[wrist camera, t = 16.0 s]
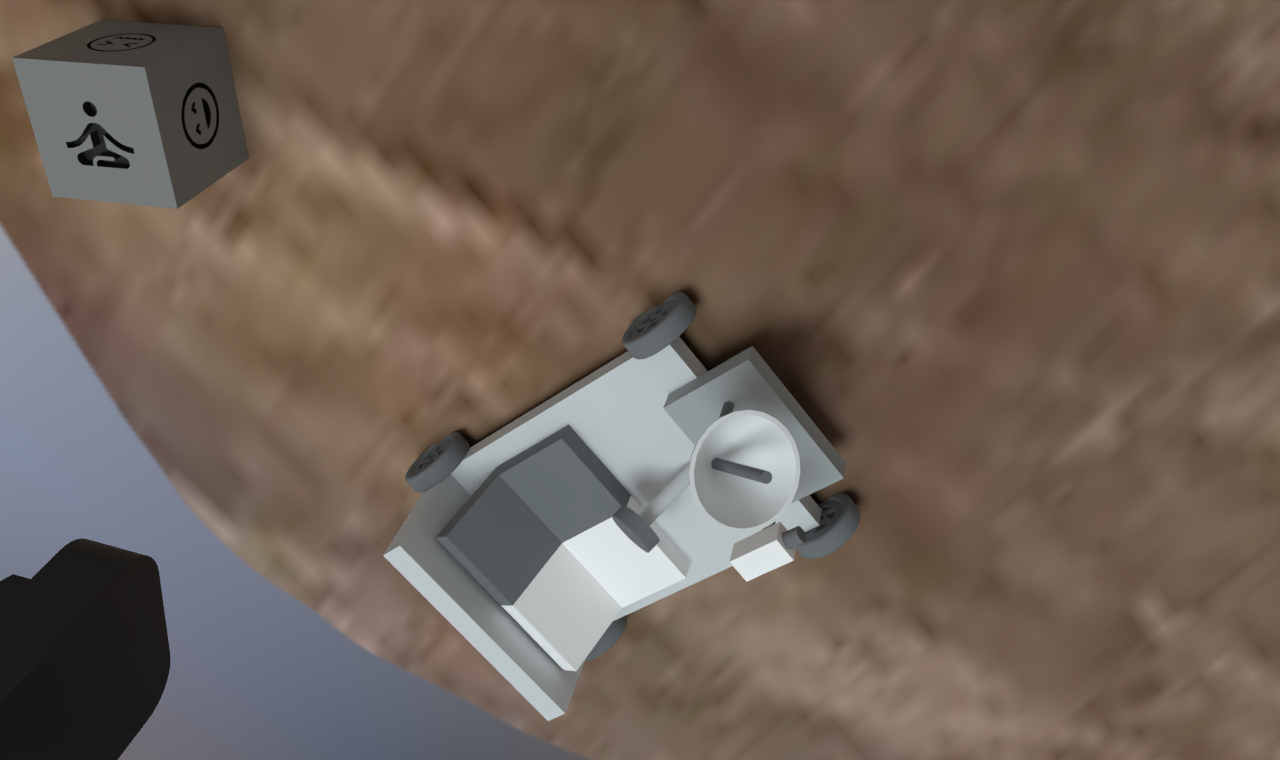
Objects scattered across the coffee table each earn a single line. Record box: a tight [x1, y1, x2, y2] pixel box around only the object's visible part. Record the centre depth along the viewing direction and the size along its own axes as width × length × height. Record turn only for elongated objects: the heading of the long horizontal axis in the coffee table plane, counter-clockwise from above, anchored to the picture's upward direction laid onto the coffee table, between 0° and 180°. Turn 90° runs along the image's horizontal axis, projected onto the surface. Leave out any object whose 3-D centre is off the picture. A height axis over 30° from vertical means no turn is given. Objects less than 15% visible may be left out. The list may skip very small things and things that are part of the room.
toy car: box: [383, 292, 860, 721], centre depth 44 cm, size 18×10×12 cm
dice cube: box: [12, 20, 248, 209], centre depth 42 cm, size 5×5×5 cm
